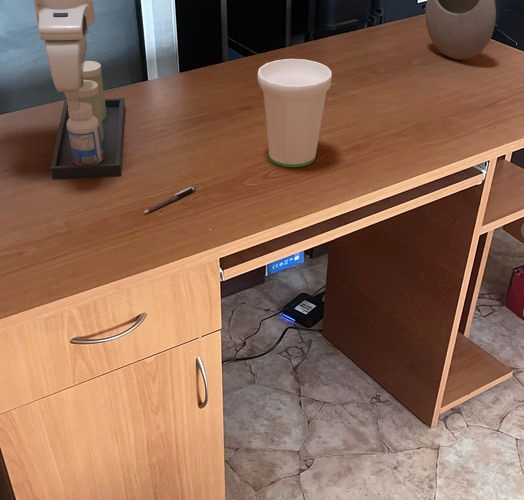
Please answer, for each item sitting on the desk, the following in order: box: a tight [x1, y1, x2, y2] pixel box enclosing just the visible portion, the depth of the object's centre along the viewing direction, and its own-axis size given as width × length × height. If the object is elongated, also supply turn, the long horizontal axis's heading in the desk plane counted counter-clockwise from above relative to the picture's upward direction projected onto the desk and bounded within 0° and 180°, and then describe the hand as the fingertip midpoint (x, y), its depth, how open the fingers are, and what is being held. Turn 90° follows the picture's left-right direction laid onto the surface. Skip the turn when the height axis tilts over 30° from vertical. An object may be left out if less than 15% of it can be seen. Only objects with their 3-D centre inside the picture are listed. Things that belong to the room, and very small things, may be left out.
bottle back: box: [83, 60, 107, 121], centre depth 148 cm, size 5×5×10 cm
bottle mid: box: [78, 80, 104, 142], centre depth 141 cm, size 5×5×10 cm
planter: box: [425, 0, 497, 61], centre depth 172 cm, size 18×7×19 cm, turn 39°
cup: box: [257, 58, 333, 168], centre depth 136 cm, size 12×12×15 cm
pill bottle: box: [67, 102, 104, 165], centre depth 135 cm, size 6×5×10 cm
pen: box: [143, 186, 197, 215], centre depth 128 cm, size 11×1×1 cm, turn 136°
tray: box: [49, 97, 126, 180], centre depth 144 cm, size 12×29×2 cm, turn 6°
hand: (76, 97), depth 130 cm, fingers open, 8 cm apart
